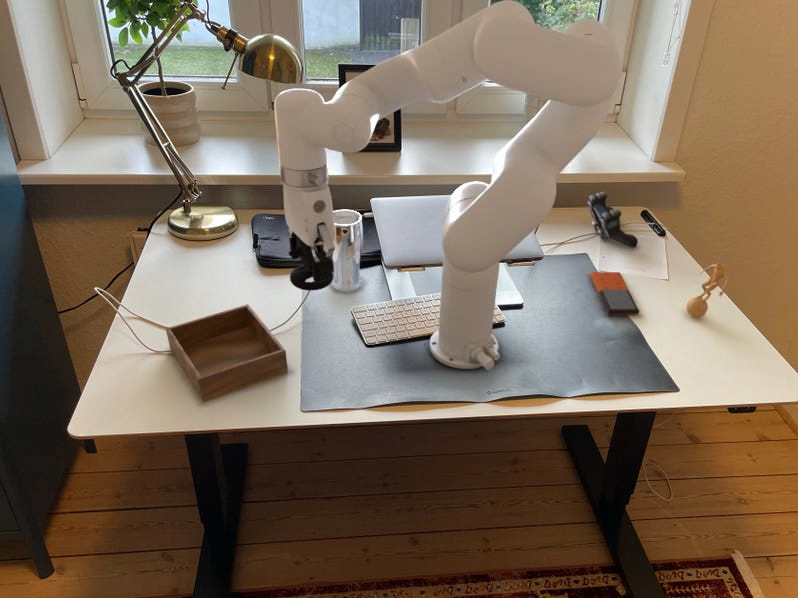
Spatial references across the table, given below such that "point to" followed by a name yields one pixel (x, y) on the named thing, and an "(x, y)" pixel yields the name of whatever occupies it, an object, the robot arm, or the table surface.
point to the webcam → (306, 268)
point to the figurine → (708, 290)
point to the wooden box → (226, 352)
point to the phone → (614, 293)
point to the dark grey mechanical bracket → (608, 220)
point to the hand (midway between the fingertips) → (311, 267)
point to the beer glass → (347, 250)
